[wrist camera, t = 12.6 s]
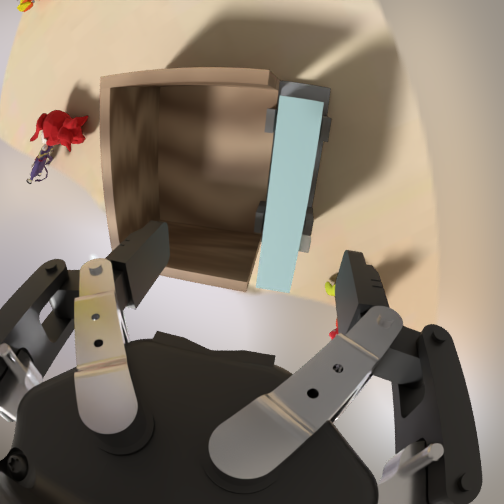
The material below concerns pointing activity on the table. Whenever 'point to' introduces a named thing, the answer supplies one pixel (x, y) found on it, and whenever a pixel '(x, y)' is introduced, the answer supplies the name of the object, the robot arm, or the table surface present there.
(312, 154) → the door
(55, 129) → the figurine
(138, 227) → the cabinet
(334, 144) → the table surface
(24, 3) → the toy boat
